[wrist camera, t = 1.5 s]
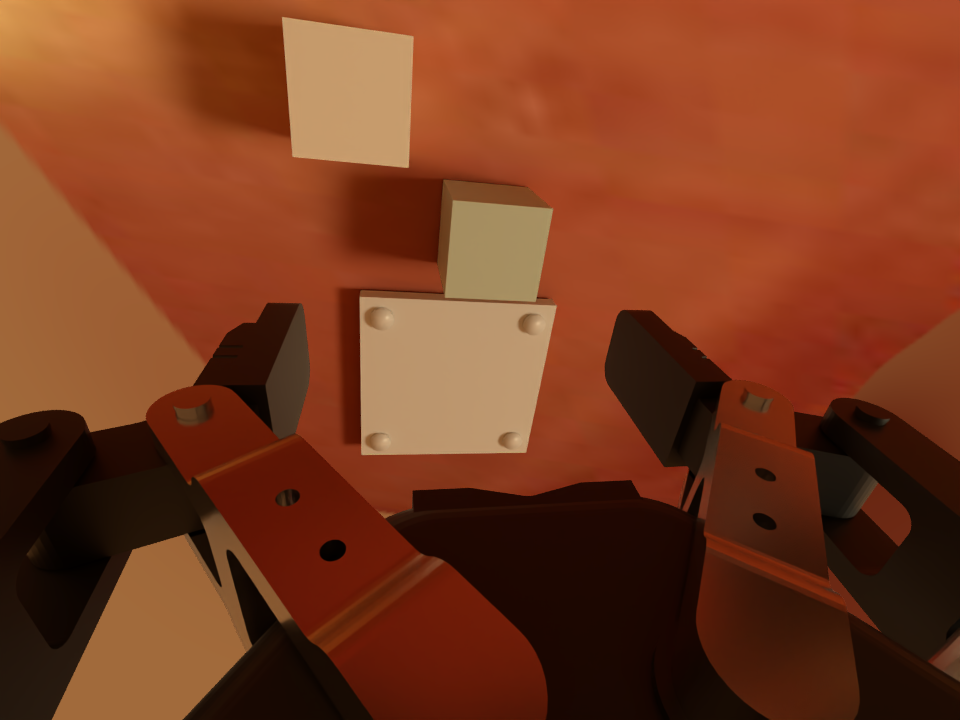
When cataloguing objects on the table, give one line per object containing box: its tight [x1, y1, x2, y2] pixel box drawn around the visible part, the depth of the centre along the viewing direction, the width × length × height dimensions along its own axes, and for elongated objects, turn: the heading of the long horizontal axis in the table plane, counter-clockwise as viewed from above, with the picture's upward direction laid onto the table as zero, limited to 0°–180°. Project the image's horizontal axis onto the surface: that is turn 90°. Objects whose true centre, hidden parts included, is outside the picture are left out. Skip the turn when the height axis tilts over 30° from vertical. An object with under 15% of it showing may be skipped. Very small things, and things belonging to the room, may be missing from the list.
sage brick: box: [437, 179, 553, 302], centre depth 30 cm, size 6×6×6 cm
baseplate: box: [360, 290, 557, 455], centre depth 37 cm, size 14×14×2 cm
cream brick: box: [282, 17, 413, 168], centre depth 25 cm, size 6×6×6 cm
